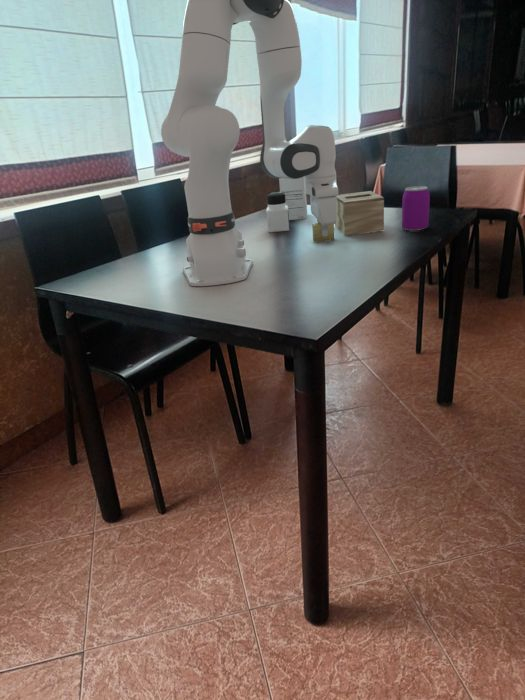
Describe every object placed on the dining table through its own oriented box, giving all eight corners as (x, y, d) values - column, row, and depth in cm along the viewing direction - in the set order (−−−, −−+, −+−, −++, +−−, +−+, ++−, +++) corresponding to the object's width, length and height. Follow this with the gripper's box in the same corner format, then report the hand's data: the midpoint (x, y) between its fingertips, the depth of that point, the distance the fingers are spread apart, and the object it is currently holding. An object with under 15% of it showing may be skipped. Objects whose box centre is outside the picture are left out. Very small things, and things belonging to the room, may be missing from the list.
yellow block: (334, 239, 147) (333, 222, 145) (314, 242, 147) (313, 225, 145) (332, 238, 149) (332, 221, 147) (313, 240, 149) (312, 223, 147)
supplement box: (284, 215, 188) (280, 174, 181) (307, 214, 186) (305, 172, 180) (281, 220, 180) (278, 178, 173) (306, 219, 178) (303, 175, 172)
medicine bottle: (289, 230, 164) (286, 193, 159) (268, 232, 164) (264, 195, 159) (289, 226, 170) (286, 190, 165) (268, 228, 171) (265, 192, 166)
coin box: (383, 231, 150) (383, 197, 146) (345, 235, 150) (344, 202, 146) (370, 222, 163) (370, 190, 159) (335, 226, 163) (333, 195, 158)
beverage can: (426, 225, 152) (428, 184, 146) (429, 231, 145) (431, 188, 140) (400, 226, 153) (401, 186, 148) (402, 232, 146) (403, 191, 141)
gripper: (304, 183, 150) (307, 228, 156) (316, 192, 132) (319, 243, 138) (324, 180, 151) (326, 226, 157) (339, 189, 132) (341, 240, 138)
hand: (323, 234), depth 147 cm, fingers closed on yellow block, 2 cm apart
